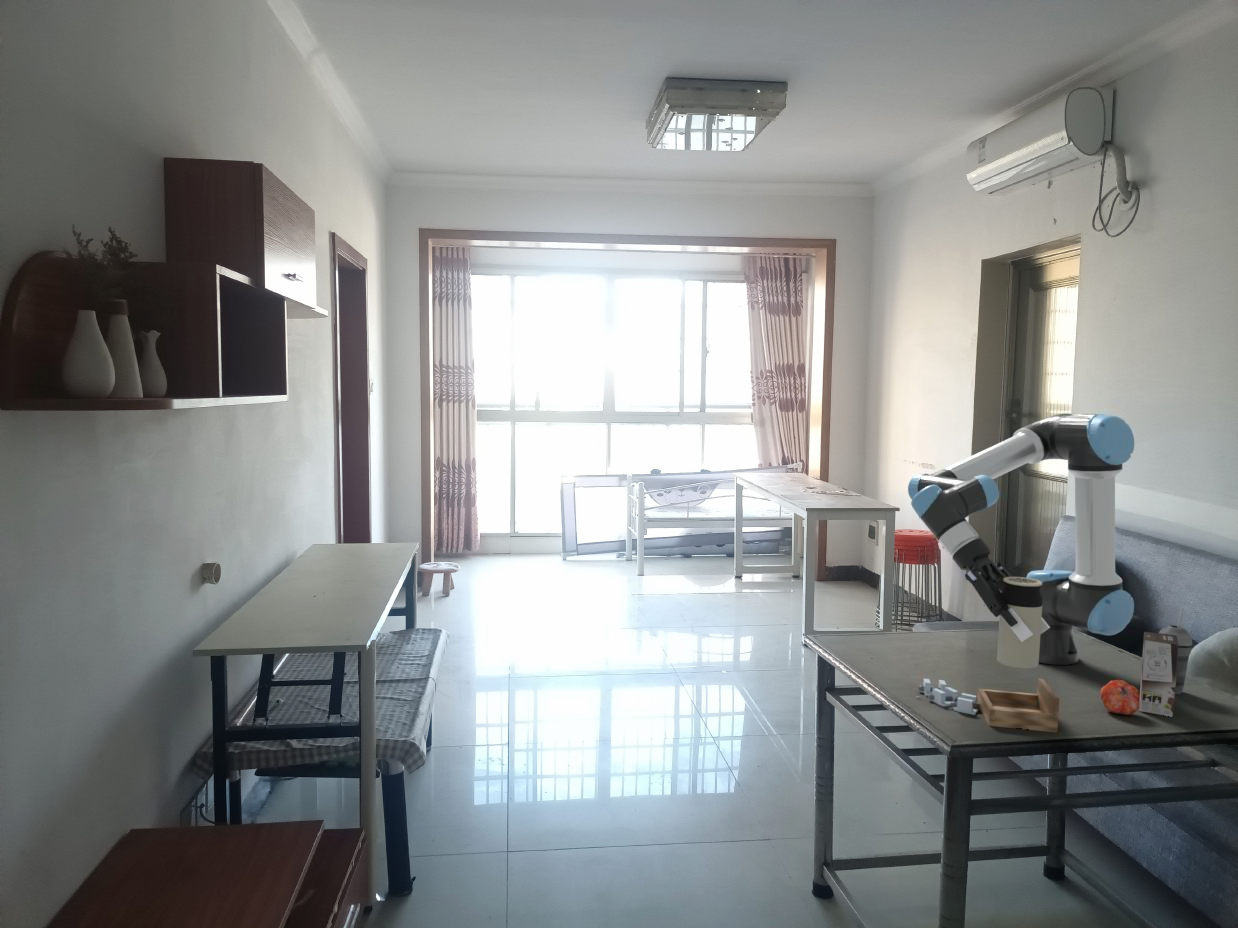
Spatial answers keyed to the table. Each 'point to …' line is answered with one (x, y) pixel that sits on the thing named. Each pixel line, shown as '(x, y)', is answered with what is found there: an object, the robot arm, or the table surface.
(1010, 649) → the travel mug
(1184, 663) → the beverage cup
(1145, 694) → the coffee box
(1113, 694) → the pomegranate
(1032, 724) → the wooden tray
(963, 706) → the cable route
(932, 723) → the table surface
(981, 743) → the table surface
